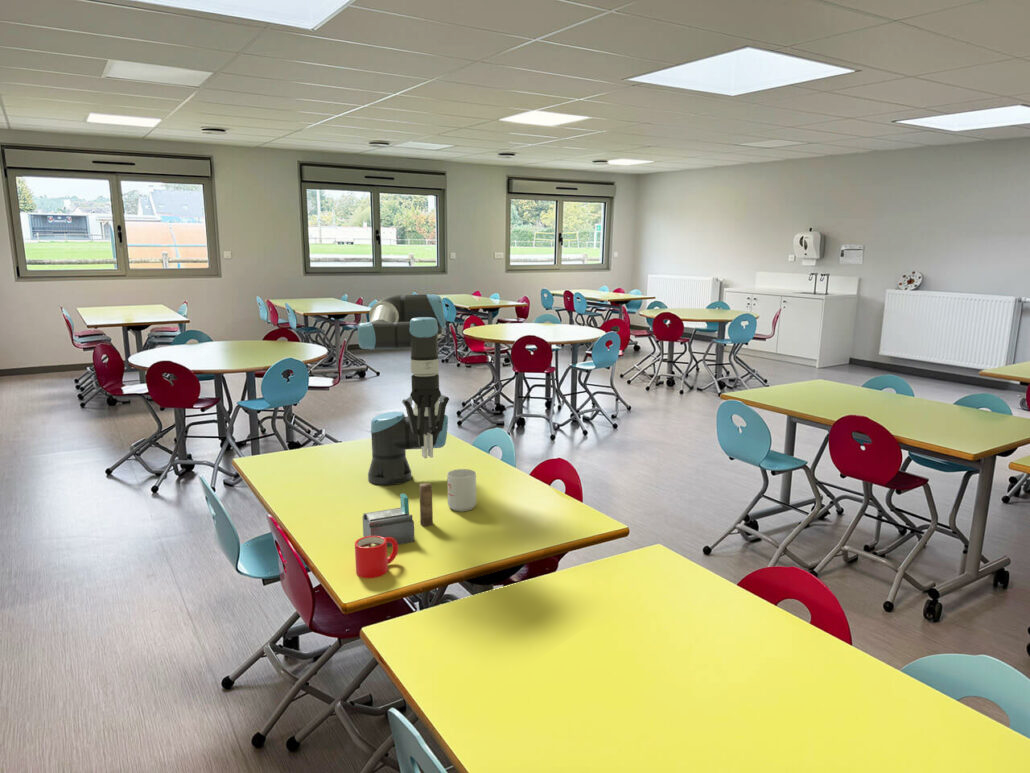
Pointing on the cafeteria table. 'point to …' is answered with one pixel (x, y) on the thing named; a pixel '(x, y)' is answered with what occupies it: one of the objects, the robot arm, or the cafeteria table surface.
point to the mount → (390, 528)
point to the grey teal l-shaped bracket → (391, 511)
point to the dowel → (426, 504)
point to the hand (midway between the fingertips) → (427, 456)
